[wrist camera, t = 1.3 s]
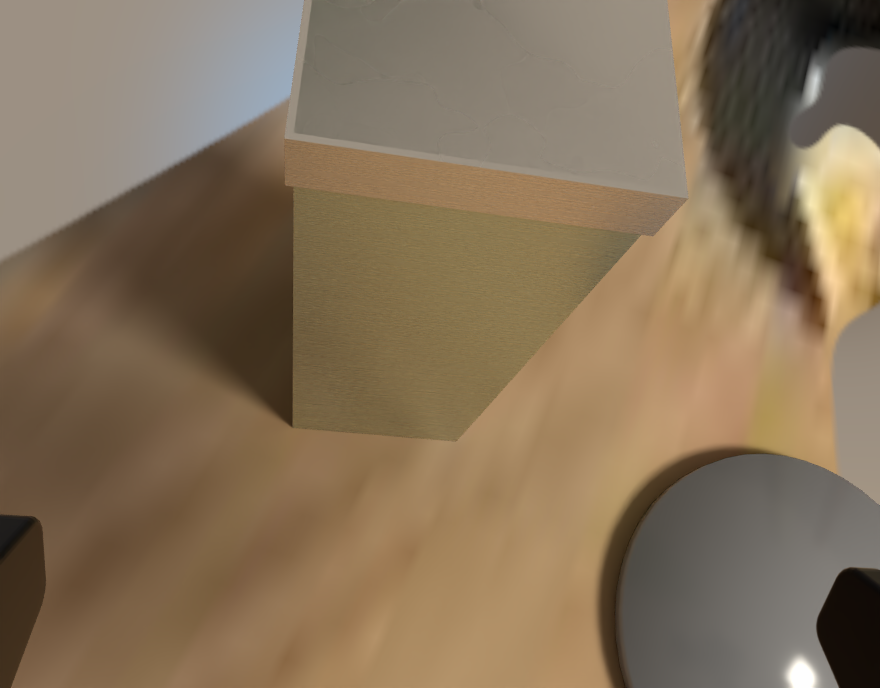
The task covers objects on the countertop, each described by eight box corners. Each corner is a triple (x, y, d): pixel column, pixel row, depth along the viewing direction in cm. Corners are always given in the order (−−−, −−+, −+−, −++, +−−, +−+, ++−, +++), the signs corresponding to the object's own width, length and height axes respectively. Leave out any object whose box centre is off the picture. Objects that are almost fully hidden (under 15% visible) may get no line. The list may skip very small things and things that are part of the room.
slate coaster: (902, 931, 20) (919, 940, 19) (555, 719, 20) (562, 721, 19) (973, 566, 24) (989, 565, 23) (689, 397, 24) (698, 392, 24)
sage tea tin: (459, 444, 22) (688, 198, 9) (288, 430, 21) (283, 138, 9) (463, 293, 24) (657, -82, 11) (307, 274, 23) (327, -154, 10)
